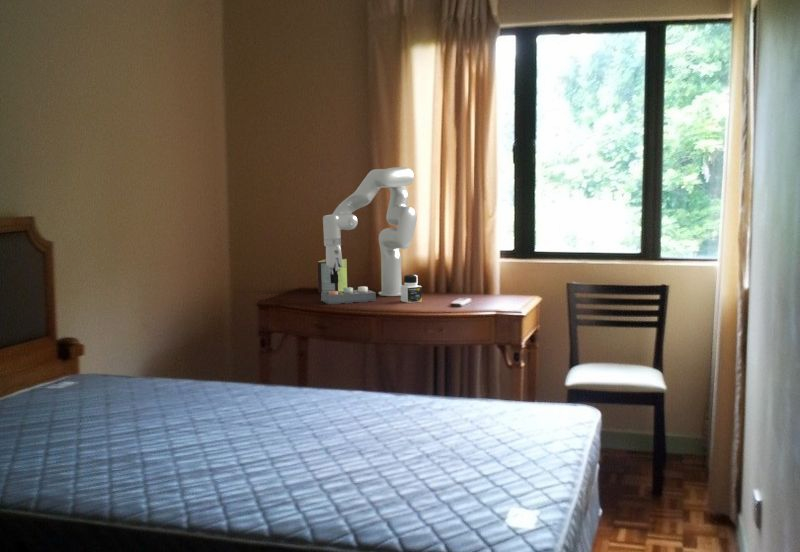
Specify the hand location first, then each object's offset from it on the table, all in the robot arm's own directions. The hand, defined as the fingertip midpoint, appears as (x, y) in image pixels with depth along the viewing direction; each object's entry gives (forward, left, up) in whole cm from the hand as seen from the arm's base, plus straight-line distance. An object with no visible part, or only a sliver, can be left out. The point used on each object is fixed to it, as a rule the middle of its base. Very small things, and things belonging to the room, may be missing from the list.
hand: (334, 282), depth 390 cm
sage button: (-6, 0, -6) cm, 9 cm away
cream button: (-13, 0, -6) cm, 15 cm away
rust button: (+1, 0, -7) cm, 7 cm away
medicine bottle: (-31, +14, -9) cm, 35 cm away
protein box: (-10, -36, -9) cm, 38 cm away
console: (-6, 0, -9) cm, 11 cm away
